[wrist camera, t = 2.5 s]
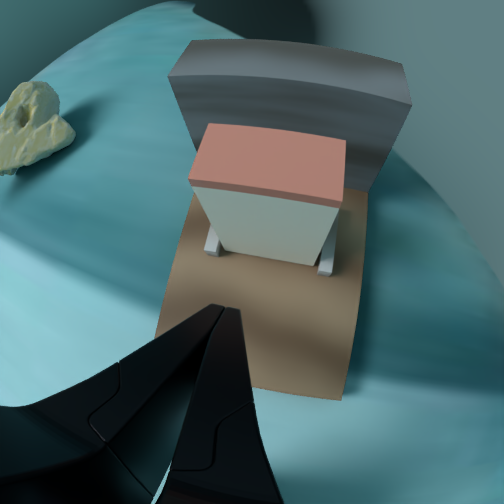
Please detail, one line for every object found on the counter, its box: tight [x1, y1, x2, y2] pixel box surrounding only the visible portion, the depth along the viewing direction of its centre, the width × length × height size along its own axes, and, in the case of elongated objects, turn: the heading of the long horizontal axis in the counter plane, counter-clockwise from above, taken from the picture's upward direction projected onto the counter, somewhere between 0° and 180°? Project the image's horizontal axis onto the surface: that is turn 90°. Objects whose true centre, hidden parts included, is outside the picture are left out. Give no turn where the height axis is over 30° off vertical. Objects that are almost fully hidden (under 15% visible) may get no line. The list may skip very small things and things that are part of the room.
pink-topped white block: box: [188, 123, 346, 266], centre depth 16 cm, size 3×6×9 cm, turn 78°
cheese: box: [0, 81, 76, 176], centre depth 25 cm, size 15×7×15 cm
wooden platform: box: [154, 39, 412, 401], centre depth 16 cm, size 19×13×11 cm
